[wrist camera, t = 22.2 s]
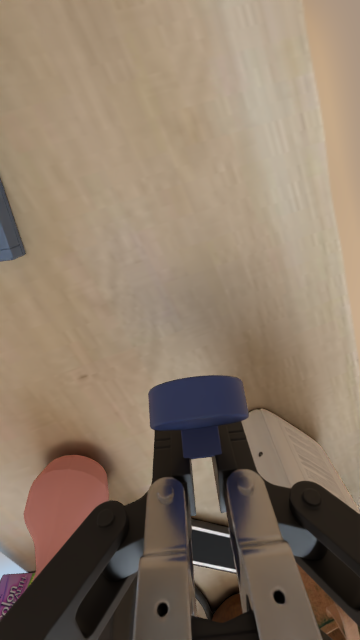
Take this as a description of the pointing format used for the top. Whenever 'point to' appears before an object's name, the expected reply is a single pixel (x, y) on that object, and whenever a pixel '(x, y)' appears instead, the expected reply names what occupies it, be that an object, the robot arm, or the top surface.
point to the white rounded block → (290, 455)
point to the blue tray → (8, 231)
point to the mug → (329, 612)
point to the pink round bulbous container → (62, 503)
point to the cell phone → (212, 546)
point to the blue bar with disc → (198, 410)
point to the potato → (228, 609)
